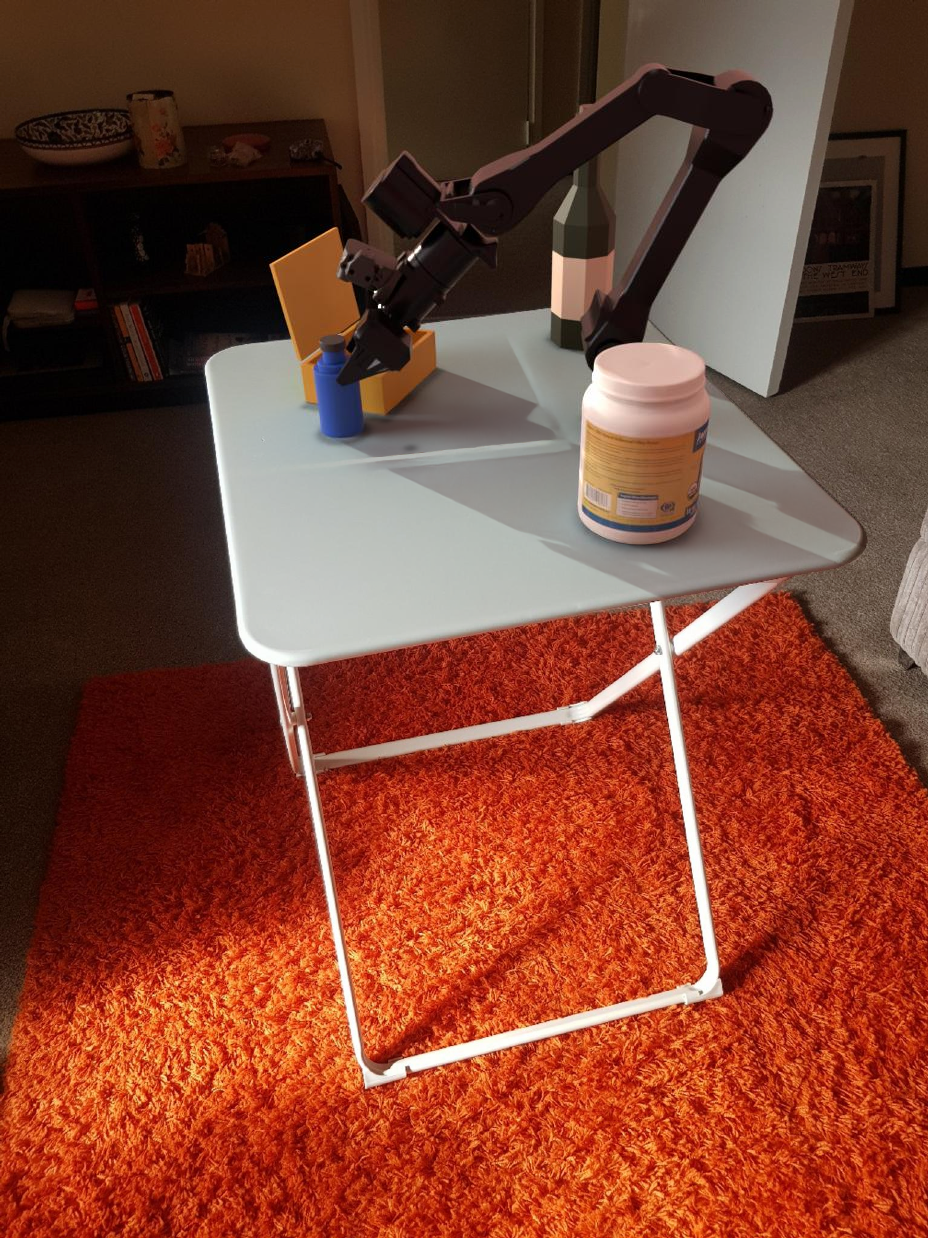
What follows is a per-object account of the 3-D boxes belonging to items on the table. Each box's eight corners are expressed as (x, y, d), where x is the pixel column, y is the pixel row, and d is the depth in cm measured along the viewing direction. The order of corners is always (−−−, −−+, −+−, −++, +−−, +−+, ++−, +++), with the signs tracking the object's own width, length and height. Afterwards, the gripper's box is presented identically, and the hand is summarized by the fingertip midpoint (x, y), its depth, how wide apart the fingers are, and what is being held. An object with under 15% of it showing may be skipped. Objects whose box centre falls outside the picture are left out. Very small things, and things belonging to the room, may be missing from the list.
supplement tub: (712, 543, 97) (736, 383, 87) (592, 555, 96) (602, 396, 86) (674, 482, 107) (691, 332, 96) (565, 493, 105) (570, 343, 95)
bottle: (353, 419, 121) (343, 327, 114) (372, 435, 118) (362, 341, 111) (315, 430, 119) (302, 337, 112) (332, 446, 116) (320, 351, 109)
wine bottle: (611, 349, 136) (627, 111, 118) (552, 350, 136) (558, 113, 118) (605, 327, 143) (619, 98, 124) (548, 328, 143) (554, 100, 125)
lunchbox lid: (337, 226, 126) (313, 229, 127) (273, 263, 114) (247, 266, 116) (360, 317, 132) (336, 319, 134) (301, 361, 121) (276, 362, 123)
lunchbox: (437, 371, 132) (434, 330, 129) (385, 419, 121) (381, 376, 118) (362, 360, 136) (358, 320, 132) (306, 406, 125) (300, 363, 121)
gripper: (383, 191, 110) (300, 291, 117) (367, 242, 96) (273, 353, 103) (456, 260, 115) (372, 352, 122) (451, 318, 100) (355, 419, 107)
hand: (343, 366), depth 113 cm, fingers open, 9 cm apart
